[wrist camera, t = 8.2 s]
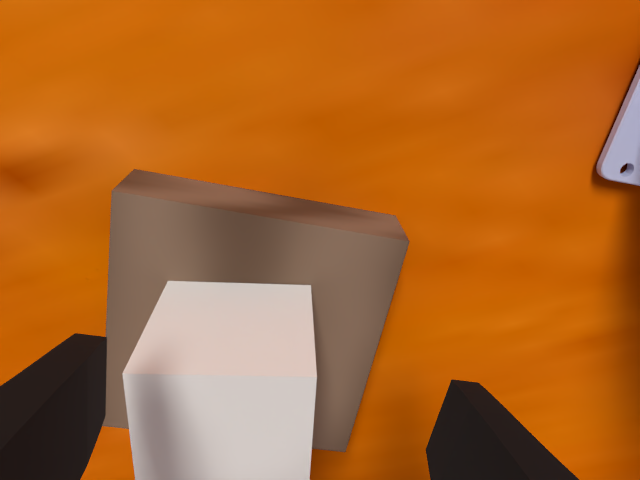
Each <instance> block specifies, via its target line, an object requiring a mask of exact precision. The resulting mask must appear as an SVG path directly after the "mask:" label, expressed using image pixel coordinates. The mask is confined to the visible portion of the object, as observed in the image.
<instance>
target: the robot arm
mask: <svg viewBox="0 0 640 480" xmlns="http://www.w3.org/2000/svg"><path fill="white" fill-rule="evenodd" d="M626 163H627V169H626V170H625V172H623V173H621V174H620V169H621V167H622V166H623V165H625V164H626ZM596 169H597V173H598V174H599V175H600V176H601V177H603V178H605V179H608V180H611V181H617V182H622V183H627V184H632V185H638V186H640V66H639V68H638V70H637V73H636V75H635V77H634V80H633V82H632V84H631V86H630V89H629V91H628V93H627V96H626V98H625V100H624V103H623V105H622V107H621V110H620V112H619V114H618V117H617V119H616V121H615V123H614V126H613V128H612V130H611V133H610V135H609V137H608V140H607V142H606V144H605V147H604V149H603V151H602V154H601V156H600V158H599V160H598V163H597V167H596ZM106 369H107V337H101V336H93V335H85V334H76V333H75V334H74V335H72V336H71V337H69V338H68V339H66V340H65V341H64V342H62V343H61V344H59V345H58V346H56V347H55V348H54V349H52V350H51V351H49V352H48V353H47V354H45V355H44V356H43V357H41V358H40V359H38V360H37V361H36V362H34V363H33V364H31V365H30V366H29V367H27V368H26V369H24V370H23V371H22V372H20V373H19V374H17V375H16V376H15V377H13V378H12V379H10V380H9V381H7V382H6V383H4V384H3V385H1V386H0V480H80V479H81V477H82V475H83V473H84V471H85V469H86V467H87V464H88V462H89V459H90V457H91V454H92V451H93V449H94V446H95V444H96V441H97V438H98V435H99V433H100V430H101V427H102V424H103V422H104V419H105V416H106ZM426 454H427V460H428V466H429V472H430V478H431V480H579V479H578V478H577V477H576V476H575V475H574V474H572V473H571V472H570V471H569V470H568V469H567V468H566V467H565V466H564V465H563V464H562V463H561V462H560V461H559V460H558V459H557V458H555V457H554V456H553V455H552V454H551V453H550V452H549V451H548V450H547V449H546V448H545V447H544V446H543V445H542V444H541V443H540V442H539V441H538V440H537V439H536V438H535V437H534V436H533V435H532V434H531V433H530V432H529V431H528V430H527V429H526V428H525V427H524V426H523V425H522V424H521V423H520V422H519V421H518V420H517V419H516V418H515V417H514V416H513V415H512V414H511V413H510V412H509V411H508V410H507V409H506V408H505V407H504V406H503V405H502V404H501V403H500V402H499V401H498V400H496V399H495V398H494V397H493V396H492V395H491V394H490V393H489V392H488V391H487V390H486V389H485V388H484V387H483V386H481V385H480V384H479V383H476V382H468V381H460V380H451V383H450V385H449V388H448V391H447V394H446V396H445V399H444V402H443V404H442V407H441V410H440V412H439V415H438V418H437V421H436V423H435V426H434V429H433V431H432V434H431V437H430V440H429V442H428V445H427V448H426Z"/></svg>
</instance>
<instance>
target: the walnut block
mask: <svg viewBox="0 0 640 480" xmlns="http://www.w3.org/2000/svg"><path fill="white" fill-rule="evenodd" d="M408 244H409V240H408V238H407V236H406V234H405V232H404V231H403V229H402V227H401V225H400V223H399V221H398V220H397V218H396V216H395V215H389V214H384V213H378V212H372V211H367V210H361V209H356V208H350V207H344V206H339V205H333V204H328V203H322V202H316V201H311V200H305V199H299V198H294V197H288V196H283V195H277V194H271V193H266V192H260V191H255V190H249V189H243V188H238V187H232V186H226V185H221V184H215V183H210V182H204V181H198V180H193V179H187V178H182V177H176V176H170V175H165V174H159V173H153V172H148V171H142V170H137V169H134V170H133V171H132V172H131V173H130V174H129V175H128V176H127V177H126V178H125V179H124V180H122V181H121V182H120V183H119V184H118V185H117V186H116V187H115V188H114V189H113V190H112V199H111V223H110V247H109V271H108V295H107V319H106V337H107V369H106V416H105V419H104V422H103V424H102V426H108V427H117V428H127V429H129V424H128V416H127V408H126V399H125V391H124V383H123V375H122V373H123V371H124V369H125V367H126V365H127V363H128V361H129V359H130V357H131V355H132V353H133V351H134V349H135V347H136V345H137V343H138V341H139V339H140V337H141V335H142V333H143V331H144V329H145V327H146V325H147V323H148V320H149V318H150V316H151V314H152V312H153V310H154V308H155V306H156V304H157V302H158V300H159V298H160V296H161V294H162V292H163V290H164V288H165V286H166V284H167V282H168V281H189V282H223V283H256V284H290V285H311V294H312V309H313V325H314V340H315V356H316V371H317V383H316V396H315V410H314V424H313V438H312V449H321V450H331V451H340V452H345V451H346V448H347V445H348V442H349V438H350V435H351V432H352V428H353V425H354V422H355V419H356V415H357V412H358V409H359V405H360V402H361V399H362V396H363V392H364V389H365V386H366V382H367V379H368V376H369V373H370V369H371V366H372V363H373V359H374V356H375V353H376V350H377V346H378V343H379V340H380V336H381V333H382V330H383V327H384V323H385V320H386V317H387V313H388V310H389V307H390V304H391V300H392V297H393V294H394V290H395V287H396V284H397V281H398V277H399V274H400V271H401V267H402V264H403V261H404V258H405V254H406V251H407V248H408Z"/></svg>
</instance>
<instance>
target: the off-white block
mask: <svg viewBox="0 0 640 480" xmlns="http://www.w3.org/2000/svg"><path fill="white" fill-rule="evenodd" d="M122 375H123V383H124V391H125V399H126V408H127V416H128V424H129V432H130V440H131V448H132V457H133V465H134V473H135V480H310V466H311V452H312V438H313V424H314V410H315V396H316V383H317V371H316V356H315V340H314V325H313V309H312V294H311V285H290V284H256V283H223V282H189V281H168V282H167V284H166V286H165V288H164V290H163V292H162V294H161V296H160V298H159V300H158V302H157V304H156V306H155V308H154V310H153V312H152V314H151V316H150V318H149V320H148V323H147V325H146V327H145V329H144V331H143V333H142V335H141V337H140V339H139V341H138V343H137V345H136V347H135V349H134V351H133V353H132V355H131V357H130V359H129V361H128V363H127V365H126V367H125V369H124V371H123V373H122Z"/></svg>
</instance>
